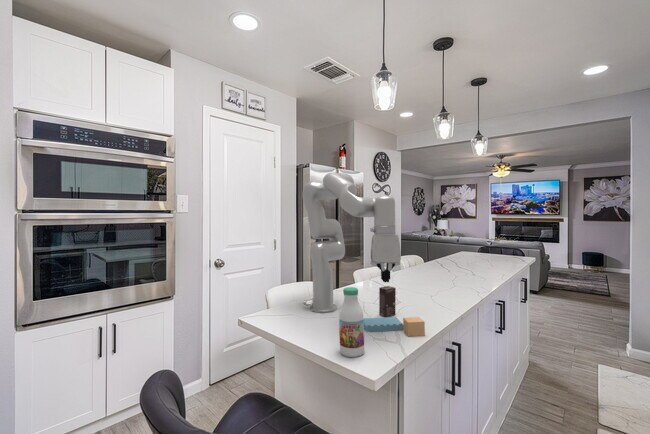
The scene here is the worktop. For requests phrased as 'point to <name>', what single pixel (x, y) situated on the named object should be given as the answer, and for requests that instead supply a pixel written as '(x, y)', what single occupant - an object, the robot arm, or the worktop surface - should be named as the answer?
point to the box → (387, 301)
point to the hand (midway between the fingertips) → (385, 281)
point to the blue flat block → (382, 324)
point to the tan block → (414, 326)
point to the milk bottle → (351, 325)
